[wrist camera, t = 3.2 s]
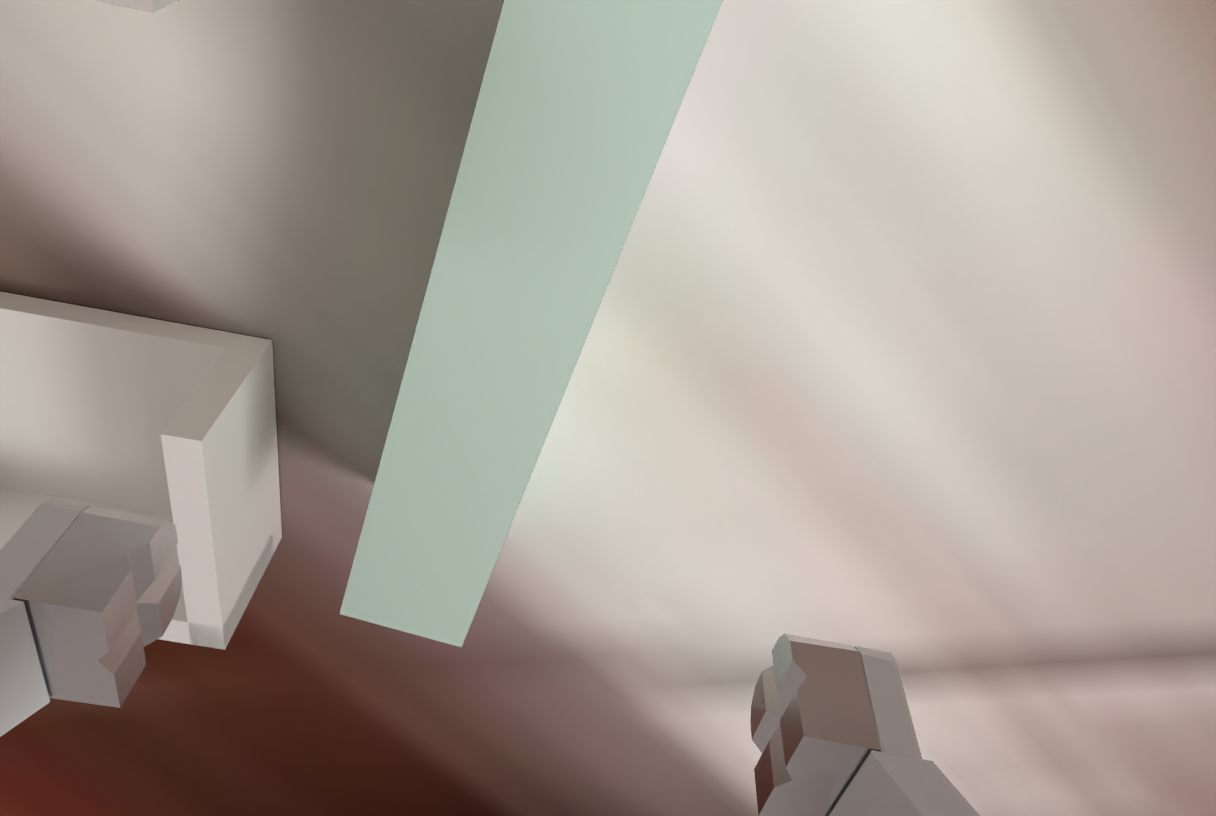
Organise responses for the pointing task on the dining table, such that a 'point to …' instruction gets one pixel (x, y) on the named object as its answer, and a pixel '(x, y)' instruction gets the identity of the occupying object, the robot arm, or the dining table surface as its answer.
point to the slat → (516, 289)
